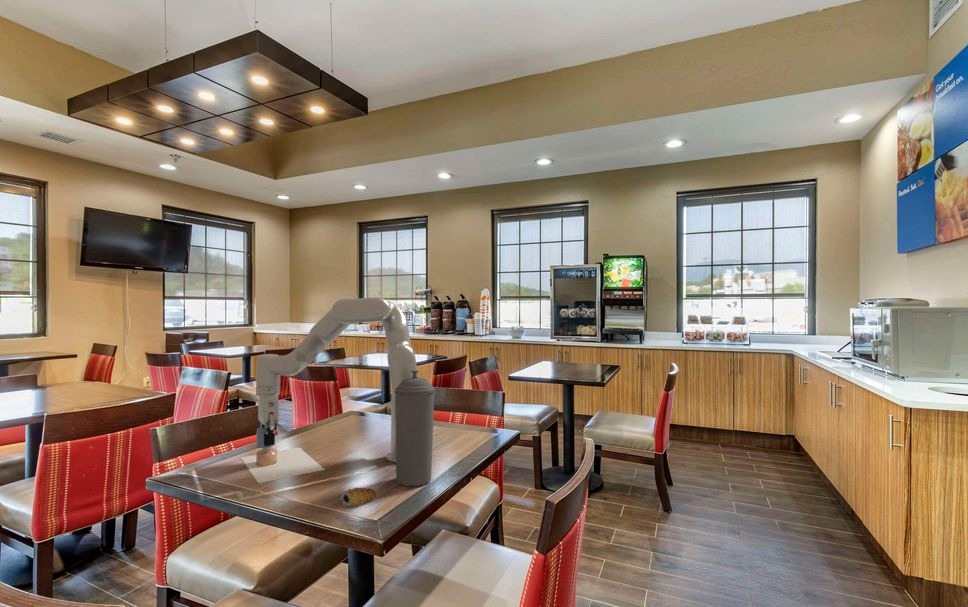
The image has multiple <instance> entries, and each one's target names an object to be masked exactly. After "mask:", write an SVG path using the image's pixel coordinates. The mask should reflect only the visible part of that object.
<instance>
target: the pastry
mask: <svg viewBox="0 0 968 607" xmlns="http://www.w3.org/2000/svg"><path fill="white" fill-rule="evenodd" d="M377 496H378V495H377V491H376V490H375V489H373V488H371V487H370V488H366V487H354V488H352V489H351V488H350V489H348V490H346V491H344V492H343V494H342V496H341V502H342V504H343V505H345V506H347V507H348V508H357V507H359V506H364V505H367V504H368V503H370V502H371V503H372V502H373V501H374V500H375V499H376V498H377Z"/></svg>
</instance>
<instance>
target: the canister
mask: <svg viewBox="0 0 968 607" xmlns="http://www.w3.org/2000/svg"><path fill="white" fill-rule="evenodd" d="M411 372H412V373H413V376H412V378H406V379H404V380H403V381H402V382H401V383H400V384H399V385H398V387H397V388H396V389H395V426H396V463H395V468H396V469H395V470H396V472H395V473H396V474H395V475H396V476H395V478H396V483H397V484H399V485H401V486H403V487H420V485H421V486H423V485H427V484H429V483H430V481H431V480H432V468H433V466H432V465H433V444H434V443H433V442H434V441H433V439H434V412H435V408H434V405H435V393H436V390H435V388H434V386H433V385H432V384H431V383H430V382H429V380H428V379H426V378H424V377H420V376H418V377H417V372H418V373H419V372H420V370H418V369H417V370H411Z"/></svg>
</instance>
